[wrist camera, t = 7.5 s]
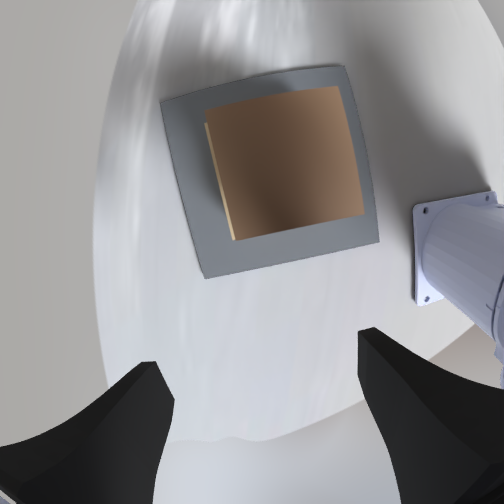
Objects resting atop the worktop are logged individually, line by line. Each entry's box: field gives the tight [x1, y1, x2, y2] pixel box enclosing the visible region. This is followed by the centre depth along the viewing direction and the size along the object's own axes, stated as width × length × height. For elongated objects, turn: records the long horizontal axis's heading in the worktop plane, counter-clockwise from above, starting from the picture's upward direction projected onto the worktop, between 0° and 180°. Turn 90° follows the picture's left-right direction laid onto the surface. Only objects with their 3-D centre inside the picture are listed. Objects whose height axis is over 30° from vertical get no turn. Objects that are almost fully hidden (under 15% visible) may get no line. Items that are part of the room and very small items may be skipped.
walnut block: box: [204, 86, 365, 241], centre depth 11 cm, size 4×4×4 cm
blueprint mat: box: [160, 66, 380, 279], centre depth 17 cm, size 12×12×1 cm
